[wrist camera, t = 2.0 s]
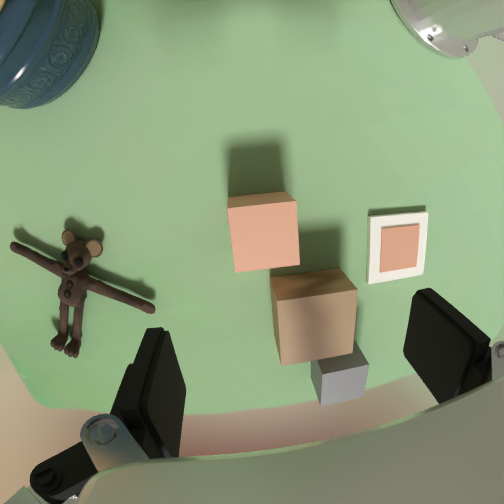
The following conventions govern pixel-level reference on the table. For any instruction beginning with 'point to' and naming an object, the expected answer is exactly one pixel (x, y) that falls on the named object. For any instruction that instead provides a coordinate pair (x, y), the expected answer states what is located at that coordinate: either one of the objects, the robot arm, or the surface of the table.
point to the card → (396, 246)
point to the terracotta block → (263, 231)
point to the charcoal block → (340, 377)
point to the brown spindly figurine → (77, 286)
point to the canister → (44, 48)
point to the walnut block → (313, 315)
